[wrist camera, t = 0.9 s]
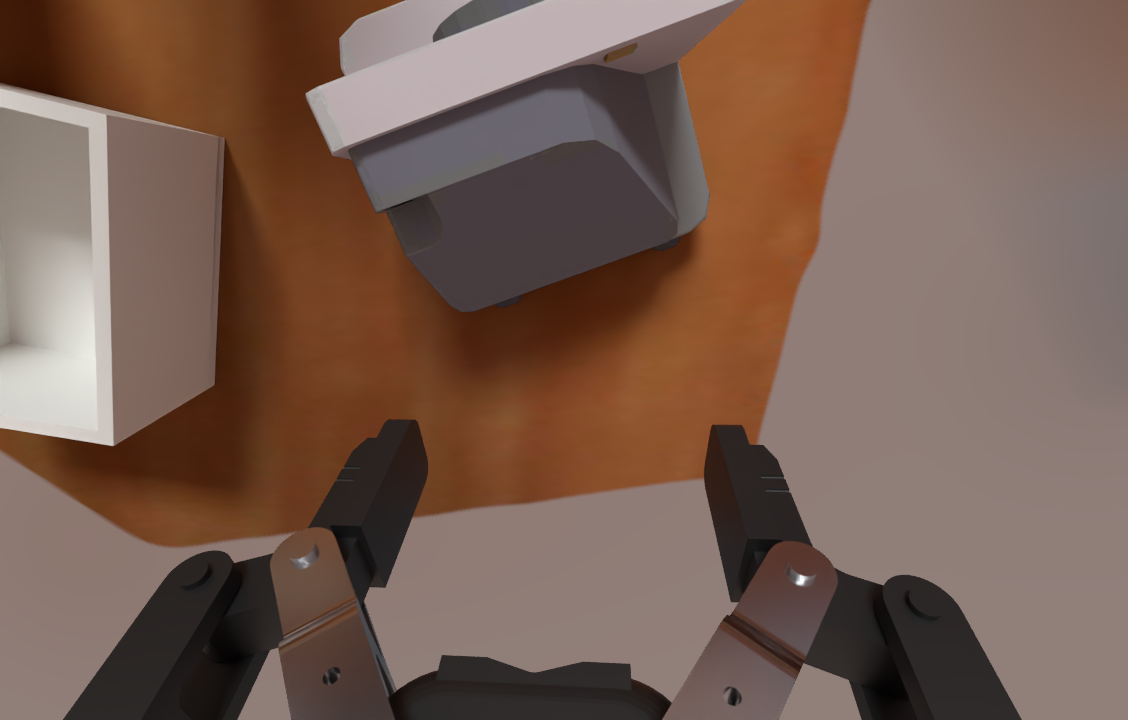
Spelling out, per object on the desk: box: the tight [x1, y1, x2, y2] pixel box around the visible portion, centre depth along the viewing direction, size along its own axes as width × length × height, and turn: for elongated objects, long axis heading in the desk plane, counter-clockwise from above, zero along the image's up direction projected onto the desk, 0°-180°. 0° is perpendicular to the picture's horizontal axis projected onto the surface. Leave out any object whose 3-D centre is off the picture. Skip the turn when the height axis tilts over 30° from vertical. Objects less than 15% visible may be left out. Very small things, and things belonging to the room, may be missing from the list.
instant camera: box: [306, 0, 746, 312], centre depth 28 cm, size 21×21×15 cm
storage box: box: [0, 83, 225, 446], centre depth 30 cm, size 14×18×10 cm
